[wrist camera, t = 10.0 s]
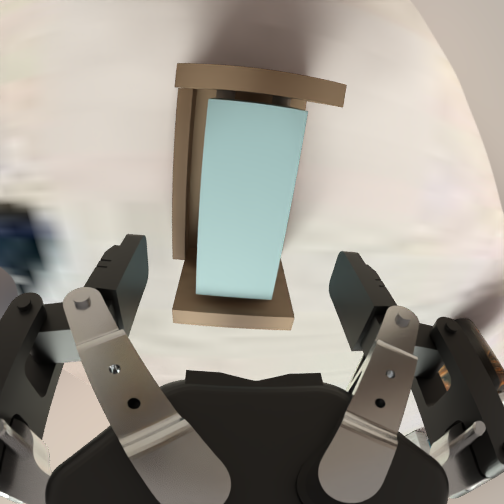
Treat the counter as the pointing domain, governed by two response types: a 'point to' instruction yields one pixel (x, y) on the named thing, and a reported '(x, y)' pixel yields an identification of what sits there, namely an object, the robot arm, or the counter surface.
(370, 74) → the counter surface
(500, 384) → the jar
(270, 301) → the shelf rack
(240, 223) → the light teal block
